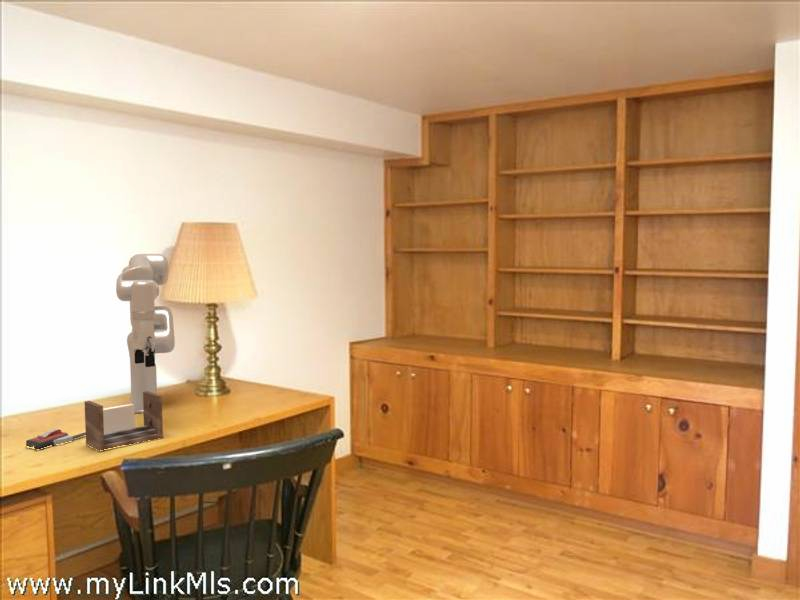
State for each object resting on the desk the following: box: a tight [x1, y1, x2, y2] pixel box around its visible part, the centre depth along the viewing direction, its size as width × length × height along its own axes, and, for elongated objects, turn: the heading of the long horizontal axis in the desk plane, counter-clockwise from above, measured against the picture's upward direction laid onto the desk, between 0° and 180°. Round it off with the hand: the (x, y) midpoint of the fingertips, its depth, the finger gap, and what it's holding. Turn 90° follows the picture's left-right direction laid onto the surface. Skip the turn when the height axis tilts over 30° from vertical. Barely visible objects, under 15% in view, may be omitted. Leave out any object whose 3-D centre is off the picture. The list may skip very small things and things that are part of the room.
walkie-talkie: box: [25, 428, 86, 449], centre depth 219 cm, size 9×4×20 cm
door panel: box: [103, 403, 136, 434], centre depth 229 cm, size 14×4×9 cm, turn 137°
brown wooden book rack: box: [84, 391, 164, 451], centre depth 219 cm, size 21×10×14 cm, turn 137°
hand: (144, 364), depth 234 cm, fingers open, 9 cm apart
